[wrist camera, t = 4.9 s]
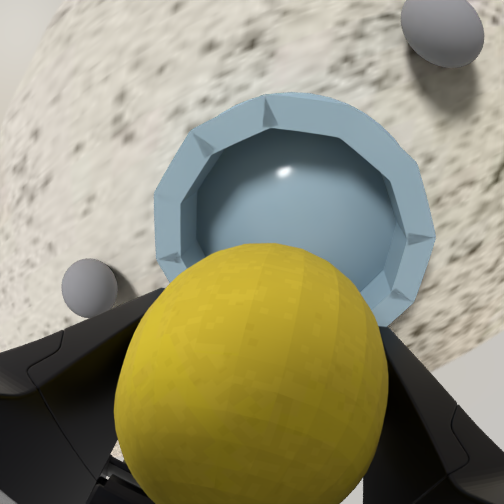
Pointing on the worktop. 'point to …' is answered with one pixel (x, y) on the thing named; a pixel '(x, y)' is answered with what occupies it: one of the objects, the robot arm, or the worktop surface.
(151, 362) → the lemon
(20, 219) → the worktop surface
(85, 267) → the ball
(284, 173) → the dish
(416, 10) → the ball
